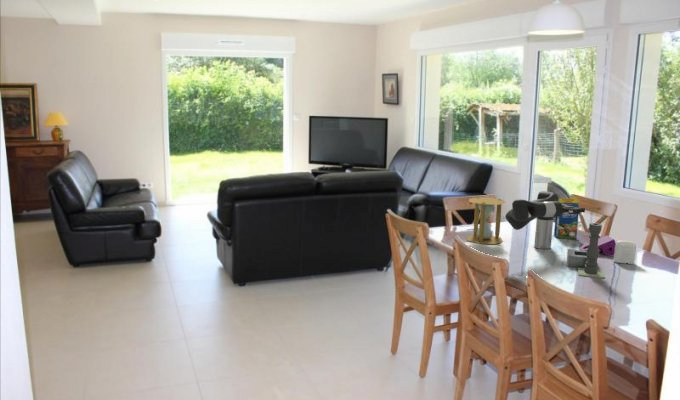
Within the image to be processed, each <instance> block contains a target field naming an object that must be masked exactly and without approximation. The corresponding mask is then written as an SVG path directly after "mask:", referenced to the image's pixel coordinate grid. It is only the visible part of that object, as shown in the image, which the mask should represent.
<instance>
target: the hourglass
mask: <svg viewBox="0 0 680 400" xmlns="http://www.w3.org/2000/svg"><path fill="white" fill-rule="evenodd" d="M468 200H469V203H472V204H474V215H473V216H474V218H473V234H472V235H469V236H466V239H467V241H468V242H471V243H475V244H482V245H485V244H486V245H498V244H500V243H503V239H502V237H500V231H501V219H502V205H503V204H506V201H505V200H504V199H501V198H493V197H479V196H478V197H477V196H475V197H473V198H469V199H468ZM495 205H496V214H495V228H494V229H495V230H494V235H493V232H492V229H491V228H490V226H489V223H488V222H487V219H488V217H489V216H490V215H491V213H492V212H493V210H494V209H495Z"/></svg>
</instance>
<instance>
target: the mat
mask: <svg viewBox="0 0 680 400" xmlns="http://www.w3.org/2000/svg"><path fill="white" fill-rule="evenodd" d="M584 269H585V268H577V272H578V276H580V277H589V278H595V279H596V278H597V279H605V278H606V277H605V276H606V275H605V273H604V270H603V269H602V270H601V269H598V272H597V274H588V273H585V272H584Z"/></svg>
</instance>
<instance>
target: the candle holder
mask: <svg viewBox="0 0 680 400" xmlns="http://www.w3.org/2000/svg"><path fill="white" fill-rule="evenodd" d="M588 226H589V227H588V231H589V235H588V238H589V243H590V244H589V247H588V249H587V252H586V256H587V259H588V260H587V261H586V265H585V269H584V272H585V273H588V274H597V272H598V270H599V266H598V265H599V263H598V259H599V257H600V250H599V249H598V239H599V238H601V236H600V234H601V232H602V227H603V224H601V223H599V222H598V223H596V222H590V223H589V225H588ZM596 260H597V262H596Z"/></svg>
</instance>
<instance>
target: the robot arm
mask: <svg viewBox="0 0 680 400" xmlns="http://www.w3.org/2000/svg"><path fill="white" fill-rule="evenodd" d="M559 199H560V197H559V196H558V194H557V193H556V192H552V191H545V190H541V191H539V192H538V195H537V198H536V199H532V200H531V201H529V200H526V199H522V198H517V199H515V200H513V202H512V203H511V204H512V205H511V207H512V208H511V209H510V210H508V211H507V212H506V214H505V216H504V217H505V220H506V221H507V222H508V223H509V225H510V226H511V227H512V228H513V229H514V230H516V231H518V230H521V229H523V228H524V227H526V226H527V225H528V224H530V223H531V222H532V221H533V220H535V219H536V221H535V223H536V224H535V231H534V232H535V235H534V243H533V244H534V245H533V247H534V248H535V249H542V250H550V249H551V248H552V240H553V227H554V218H556V217H559V216H561V215H562V213H564V214H567V213H568V214H579V215H580V214H581V213H585V211H586V208H585V207H579V208H574V205H566V204H561V203H560V202H559Z"/></svg>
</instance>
